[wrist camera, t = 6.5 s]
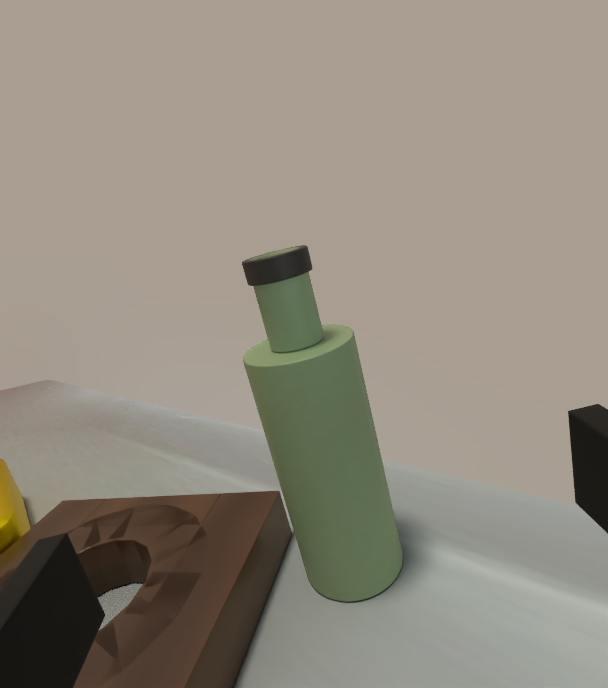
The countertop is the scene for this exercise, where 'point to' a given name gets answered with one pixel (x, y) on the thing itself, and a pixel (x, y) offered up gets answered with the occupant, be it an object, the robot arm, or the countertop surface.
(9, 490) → the element tile
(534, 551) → the countertop surface
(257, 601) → the hole board
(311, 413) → the bottle
